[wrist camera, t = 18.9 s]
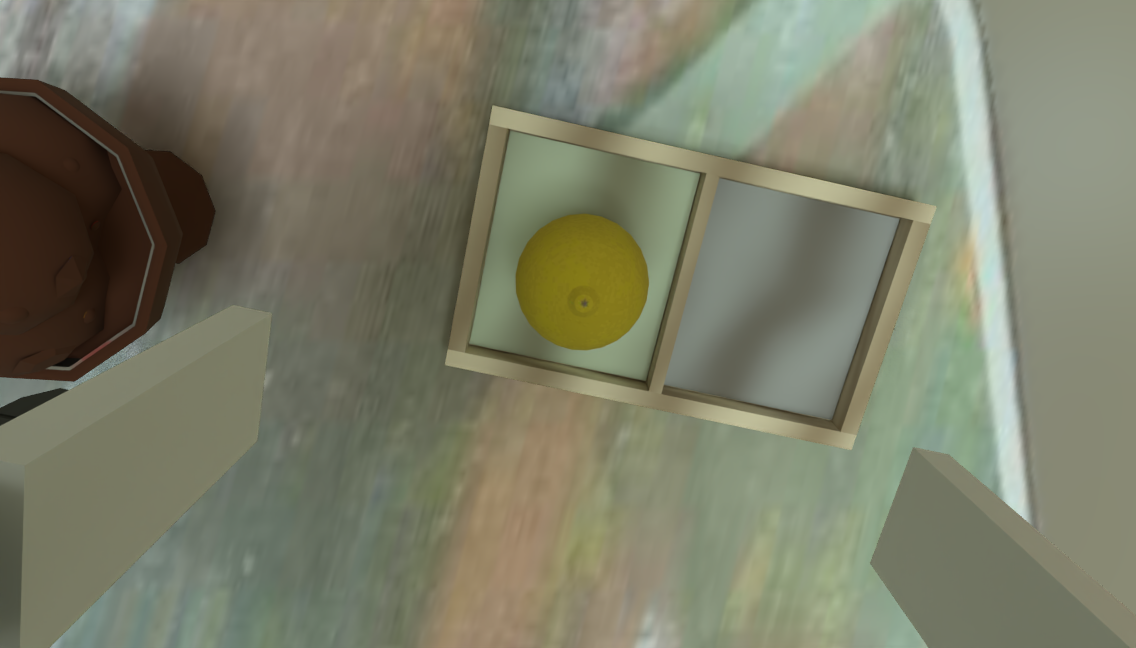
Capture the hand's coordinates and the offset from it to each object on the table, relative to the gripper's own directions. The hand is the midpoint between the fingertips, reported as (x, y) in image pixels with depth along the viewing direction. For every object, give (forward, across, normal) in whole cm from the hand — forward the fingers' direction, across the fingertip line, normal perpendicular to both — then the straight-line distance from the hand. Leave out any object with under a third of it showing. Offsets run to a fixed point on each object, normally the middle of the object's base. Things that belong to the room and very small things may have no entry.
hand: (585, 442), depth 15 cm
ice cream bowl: (+22, +20, +2) cm, 29 cm away
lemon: (+20, 0, 0) cm, 20 cm away
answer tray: (+21, -5, 0) cm, 22 cm away
